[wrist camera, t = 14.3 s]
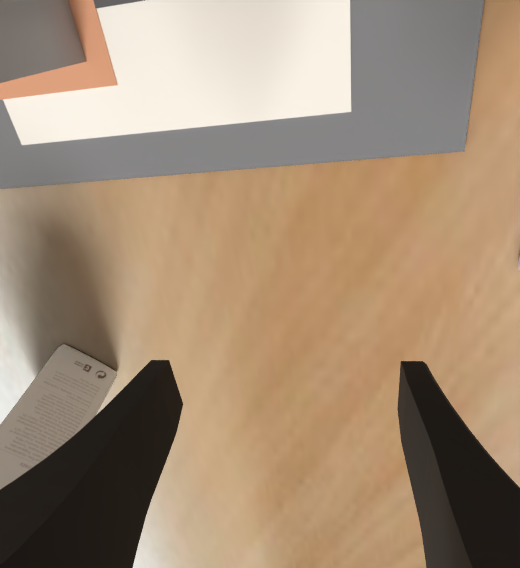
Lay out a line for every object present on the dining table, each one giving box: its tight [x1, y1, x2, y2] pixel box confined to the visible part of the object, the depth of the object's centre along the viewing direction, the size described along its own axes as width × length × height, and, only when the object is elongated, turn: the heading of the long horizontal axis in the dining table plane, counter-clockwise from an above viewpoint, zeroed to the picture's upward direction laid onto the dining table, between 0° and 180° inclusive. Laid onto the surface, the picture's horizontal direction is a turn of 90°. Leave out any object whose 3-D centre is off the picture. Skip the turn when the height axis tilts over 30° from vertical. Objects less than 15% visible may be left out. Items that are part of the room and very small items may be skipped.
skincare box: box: [0, 344, 117, 489], centre depth 24 cm, size 6×4×12 cm
